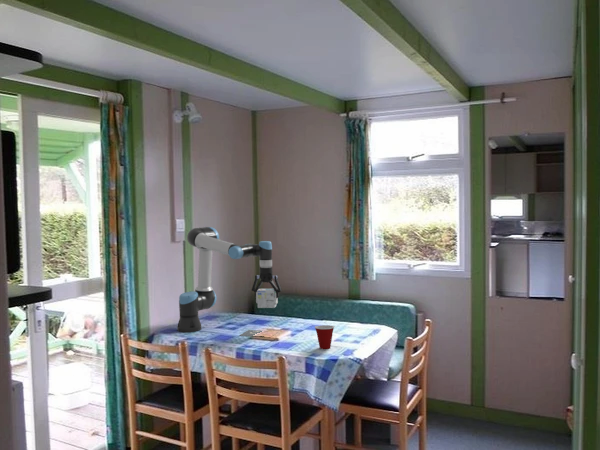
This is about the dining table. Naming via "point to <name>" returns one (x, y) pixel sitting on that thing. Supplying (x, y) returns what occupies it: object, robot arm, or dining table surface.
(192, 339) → the dining table surface
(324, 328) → the plastic cup
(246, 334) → the tile
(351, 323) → the dining table surface
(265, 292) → the light bulb box
